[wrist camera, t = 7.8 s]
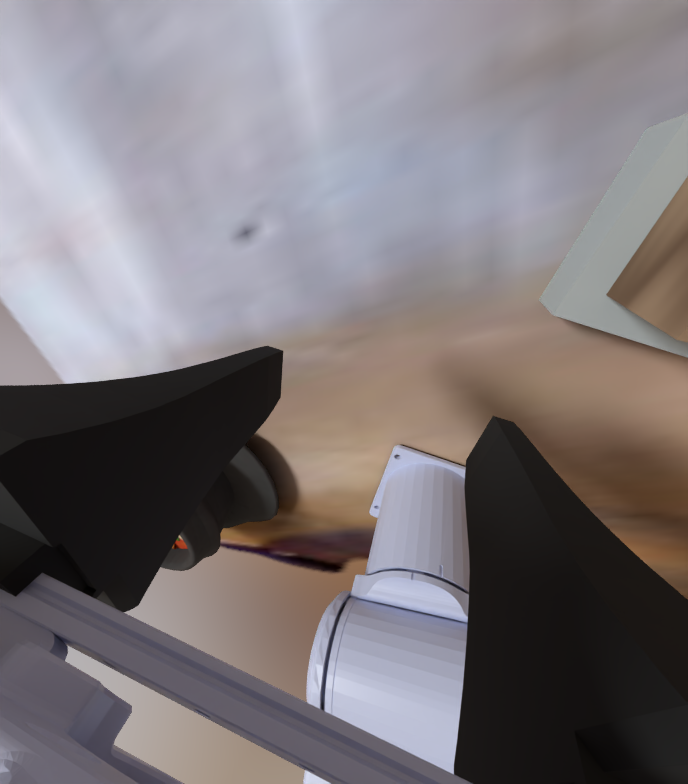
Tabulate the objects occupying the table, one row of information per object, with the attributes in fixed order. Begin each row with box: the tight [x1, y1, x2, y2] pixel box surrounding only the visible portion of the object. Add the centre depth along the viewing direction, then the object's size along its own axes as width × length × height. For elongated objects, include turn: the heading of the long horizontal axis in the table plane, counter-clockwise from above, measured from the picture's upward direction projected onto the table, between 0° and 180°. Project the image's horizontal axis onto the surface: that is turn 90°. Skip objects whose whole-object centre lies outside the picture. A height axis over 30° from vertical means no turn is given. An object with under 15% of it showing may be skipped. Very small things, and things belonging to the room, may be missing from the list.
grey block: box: [539, 113, 688, 358], centre depth 12 cm, size 7×7×3 cm
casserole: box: [161, 445, 279, 571], centre depth 31 cm, size 25×19×8 cm
